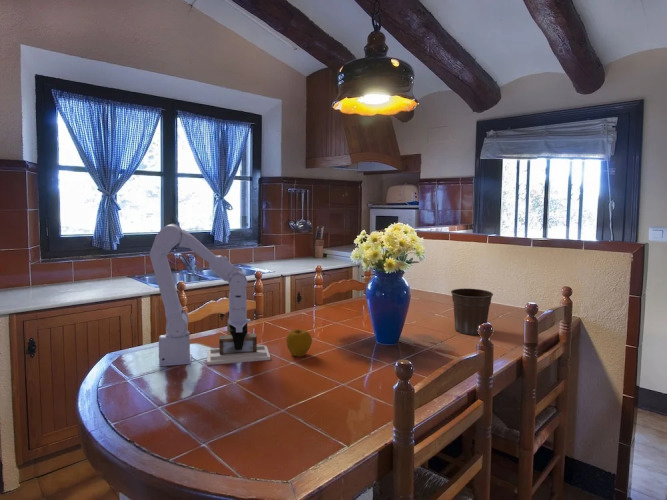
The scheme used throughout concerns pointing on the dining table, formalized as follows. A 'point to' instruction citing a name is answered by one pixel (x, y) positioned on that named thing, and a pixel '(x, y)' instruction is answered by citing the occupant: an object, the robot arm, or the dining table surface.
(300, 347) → the apple
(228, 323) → the condiment
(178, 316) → the robot arm
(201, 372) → the dining table surface
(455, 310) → the plant pot
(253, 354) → the notch ledge
